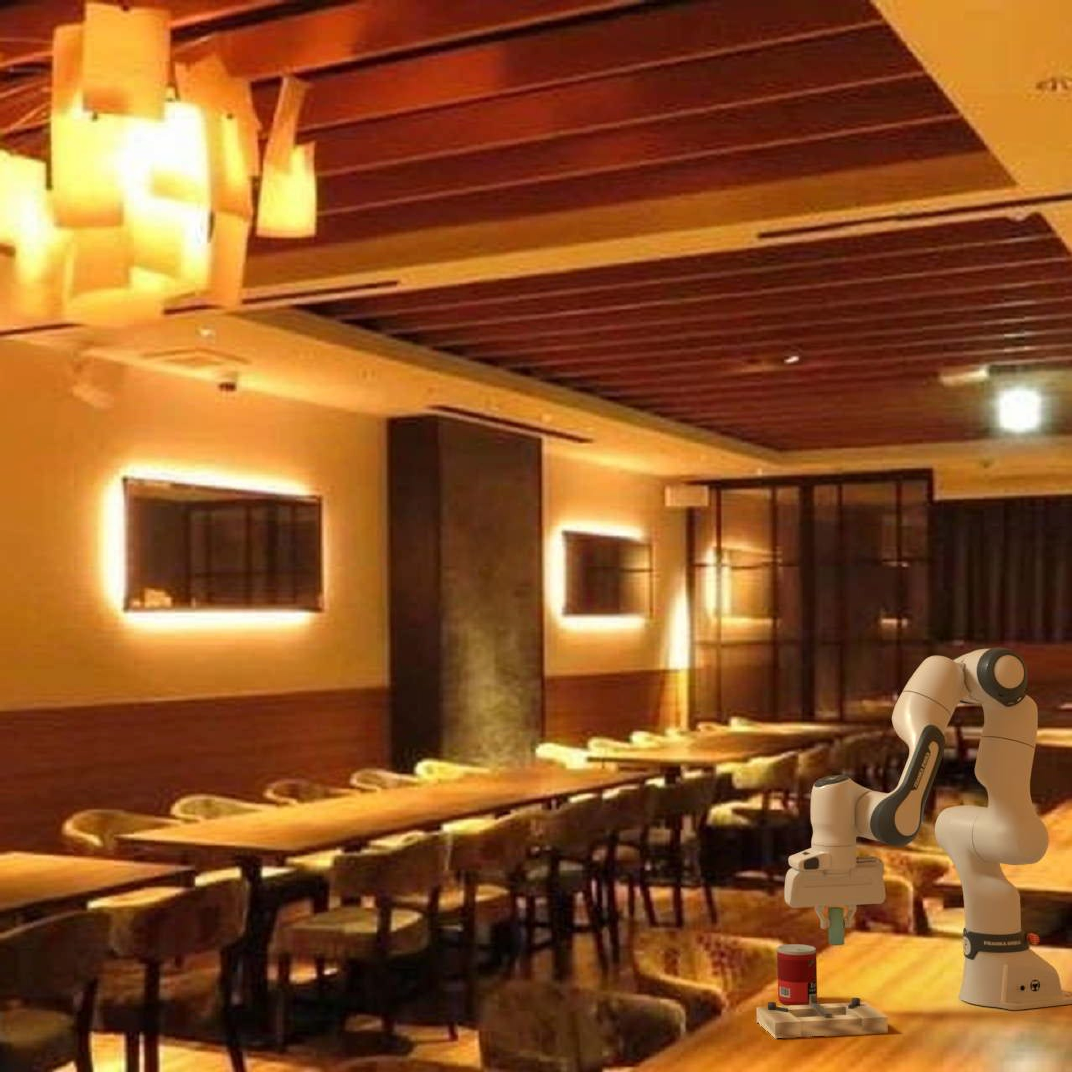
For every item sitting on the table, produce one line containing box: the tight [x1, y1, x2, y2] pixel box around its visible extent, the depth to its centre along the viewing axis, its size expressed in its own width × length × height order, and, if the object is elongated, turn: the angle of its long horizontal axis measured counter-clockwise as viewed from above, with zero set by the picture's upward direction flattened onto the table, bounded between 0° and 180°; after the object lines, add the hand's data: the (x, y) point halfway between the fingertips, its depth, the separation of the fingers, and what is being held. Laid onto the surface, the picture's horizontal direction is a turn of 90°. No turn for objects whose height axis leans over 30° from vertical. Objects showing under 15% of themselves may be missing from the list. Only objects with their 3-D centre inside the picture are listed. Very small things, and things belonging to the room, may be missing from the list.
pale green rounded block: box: [827, 906, 845, 946], centre depth 311 cm, size 3×3×7 cm
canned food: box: [776, 943, 818, 1006], centre depth 320 cm, size 8×8×11 cm
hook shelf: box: [756, 994, 889, 1040], centre depth 299 cm, size 22×12×5 cm, turn 99°
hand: (836, 927), depth 311 cm, fingers closed on pale green rounded block, 3 cm apart
